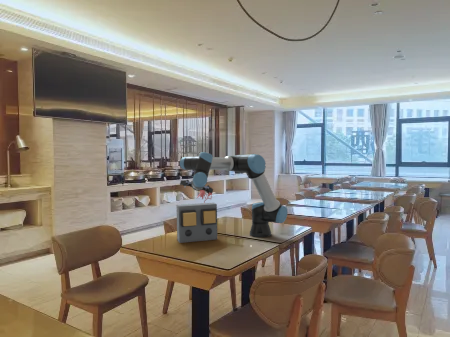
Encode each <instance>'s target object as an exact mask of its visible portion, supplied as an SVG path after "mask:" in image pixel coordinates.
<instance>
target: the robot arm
mask: <svg viewBox="0 0 450 337" xmlns="http://www.w3.org/2000/svg"><path fill="white" fill-rule="evenodd" d="M266 164H267V163H266V159H265V158H264V157H263V156H262V155H260V154H255V153H252V154H236V155H227V156H225V157H219V156H218V157H215V156H214V157H213V154H211V153H209V152H206V151H201V152H200V153H199V155H198V156H183V157H181V159H180V160H179V166H180V168H181V169H182V170H185V171H194V173H193V177H192V180H191V181H190V180H189V179H186V180H184V179H181V180H180V182H179V185H180V186H184V187H183V188H185V189H186V187H190V188H192V189H193V190H194V191H196V192H197V191H198V192H200V190H204V191H205V195H208V194H209V192H210V193H212V194H213V191H214V189H213V188H212V187H211V186H210V185H207V184H208V177H209V172H210V170H211V171H213V170H216V171H217V170H225V171H227V172H235V173H240V174H241V173H242V174H244V173H245V174H246V177H247V178H248V179H249V180H252V182H253V185H254V187H255V189H256V191H257V192H258V195H259V197H260V199H261V202H253V203H252V205H251V227H250V230H249V236H251V237H256V238H267V237H270V236H272V230H271V228H270V224H269V223H270V222H271V223H275V224H283V223H284V222H285V221H286V220H287V217H288V207H287V206H285V205H282V204H281V202H280V201H279V200H278V199H277V198H276V196H275V193H274V192H273V190H272V188H271V185H270V184H269V182H268V180H267V177H266V175H265V172H266V168H267V167H266Z"/></svg>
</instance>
